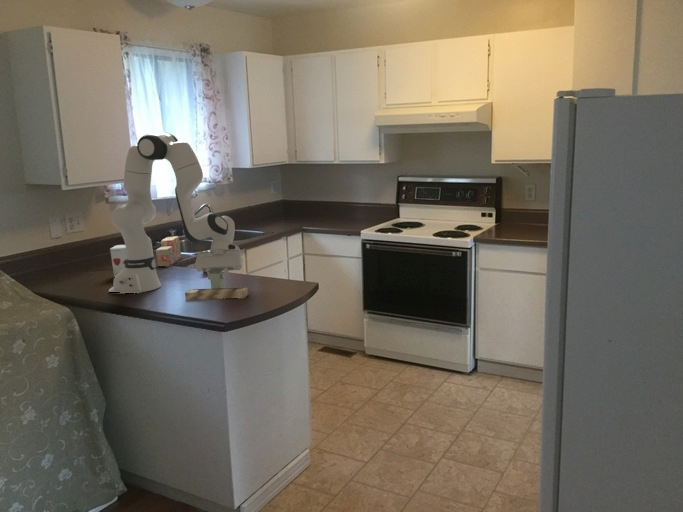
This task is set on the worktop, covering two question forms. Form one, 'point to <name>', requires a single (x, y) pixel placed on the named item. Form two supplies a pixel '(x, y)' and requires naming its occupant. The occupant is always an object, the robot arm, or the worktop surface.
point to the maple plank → (216, 293)
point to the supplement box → (118, 258)
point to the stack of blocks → (168, 251)
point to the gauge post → (216, 279)
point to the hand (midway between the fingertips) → (216, 278)
